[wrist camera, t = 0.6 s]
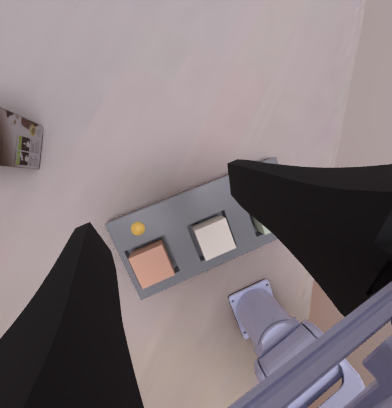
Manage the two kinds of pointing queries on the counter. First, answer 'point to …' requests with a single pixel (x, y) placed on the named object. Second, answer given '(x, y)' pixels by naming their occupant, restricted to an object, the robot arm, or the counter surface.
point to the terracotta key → (151, 263)
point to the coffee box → (19, 141)
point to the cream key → (214, 237)
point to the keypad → (185, 230)
